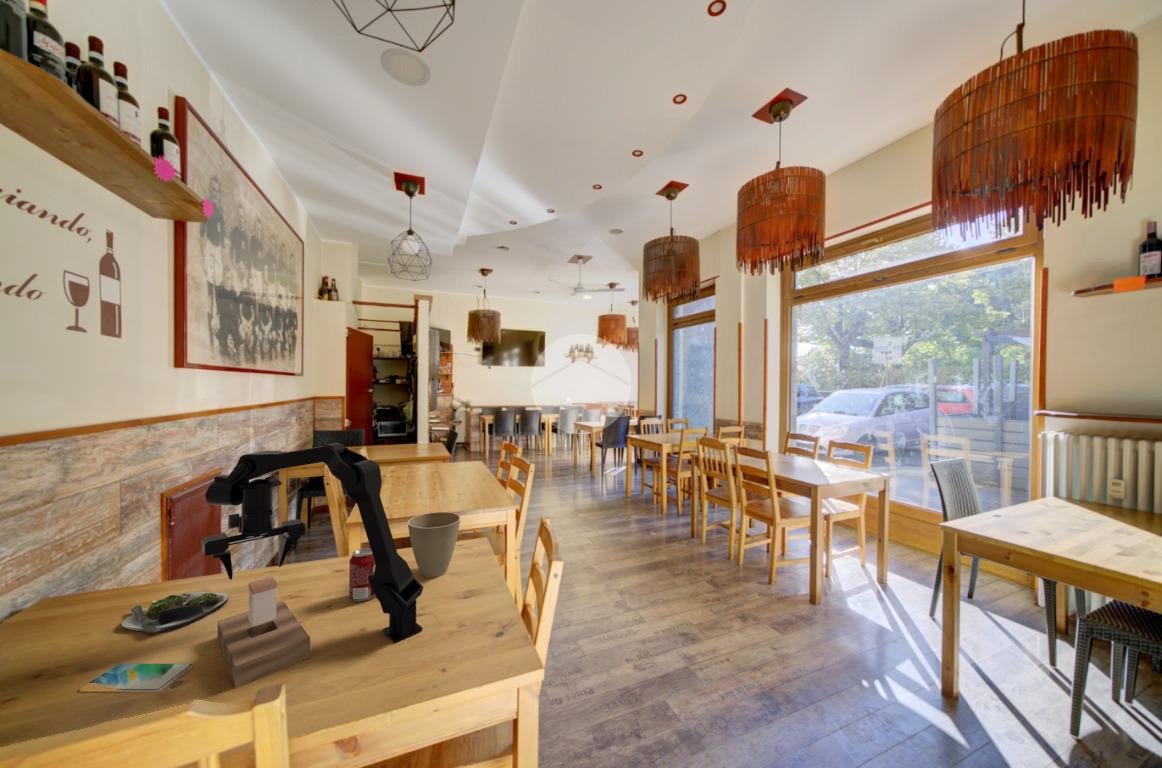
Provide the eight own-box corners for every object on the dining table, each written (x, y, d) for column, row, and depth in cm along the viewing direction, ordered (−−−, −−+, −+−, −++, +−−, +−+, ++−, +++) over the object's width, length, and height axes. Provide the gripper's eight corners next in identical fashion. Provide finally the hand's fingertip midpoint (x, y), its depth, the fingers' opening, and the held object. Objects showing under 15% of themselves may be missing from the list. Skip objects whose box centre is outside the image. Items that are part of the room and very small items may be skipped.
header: (310, 657, 86) (310, 637, 86) (234, 688, 77) (235, 666, 77) (282, 617, 100) (283, 600, 100) (217, 639, 92) (217, 621, 92)
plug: (276, 618, 89) (276, 582, 89) (252, 626, 86) (252, 588, 86) (271, 611, 91) (272, 576, 92) (248, 619, 88) (248, 582, 89)
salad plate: (90, 633, 94) (90, 613, 94) (177, 595, 112) (177, 577, 112) (161, 642, 91) (161, 620, 91) (239, 600, 109) (240, 583, 109)
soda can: (369, 603, 107) (370, 556, 107) (343, 603, 107) (344, 556, 107) (382, 590, 114) (383, 546, 114) (358, 590, 114) (358, 546, 114)
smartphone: (158, 690, 76) (75, 689, 76) (158, 694, 76) (75, 694, 76) (195, 662, 83) (119, 662, 83) (195, 667, 83) (119, 666, 83)
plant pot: (395, 578, 121) (396, 523, 121) (432, 558, 135) (433, 509, 135) (435, 588, 115) (436, 530, 115) (470, 566, 129) (470, 515, 129)
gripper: (294, 492, 110) (293, 551, 110) (199, 507, 96) (198, 574, 96) (307, 500, 102) (306, 564, 102) (205, 517, 88) (204, 591, 88)
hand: (256, 572), depth 97 cm, fingers open, 9 cm apart
